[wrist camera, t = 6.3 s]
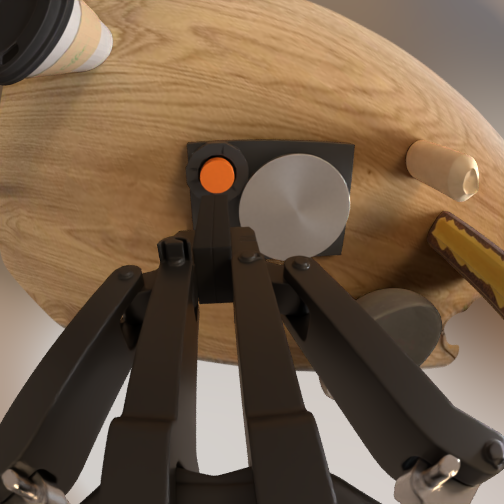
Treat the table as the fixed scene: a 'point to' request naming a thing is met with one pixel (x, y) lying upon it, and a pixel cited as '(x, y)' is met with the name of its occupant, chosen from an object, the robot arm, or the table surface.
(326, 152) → the scale
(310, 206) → the scale pan
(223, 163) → the tare button
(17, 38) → the coffee cup
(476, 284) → the book
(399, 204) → the table surface
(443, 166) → the candle
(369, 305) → the bowl
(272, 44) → the table surface
